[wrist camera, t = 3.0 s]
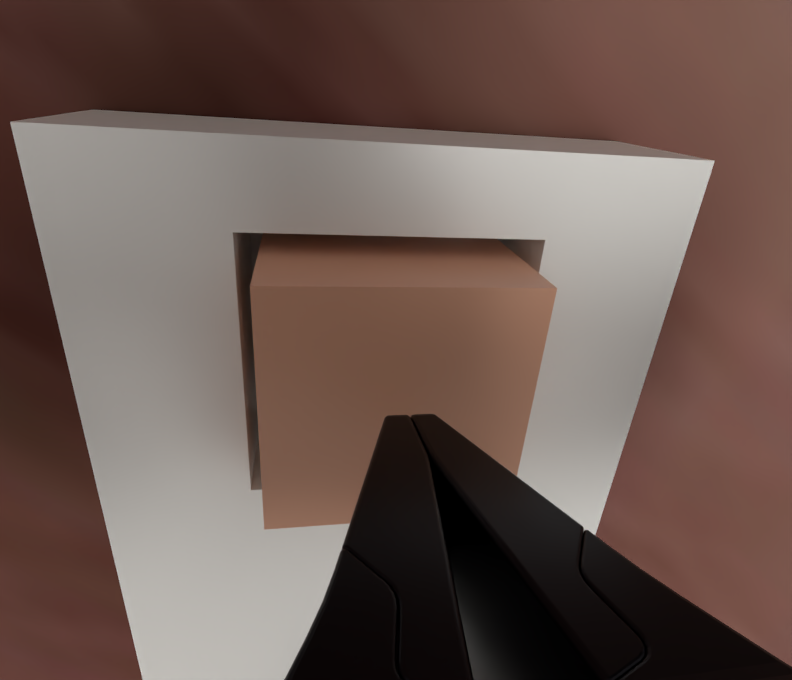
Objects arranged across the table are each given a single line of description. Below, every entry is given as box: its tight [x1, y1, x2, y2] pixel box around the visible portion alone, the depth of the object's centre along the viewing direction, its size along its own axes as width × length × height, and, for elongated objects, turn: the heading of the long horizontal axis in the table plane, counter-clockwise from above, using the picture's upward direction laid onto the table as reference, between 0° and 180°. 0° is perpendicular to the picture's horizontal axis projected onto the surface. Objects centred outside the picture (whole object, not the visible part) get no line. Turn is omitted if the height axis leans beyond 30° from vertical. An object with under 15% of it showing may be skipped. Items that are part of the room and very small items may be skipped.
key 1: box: [250, 233, 557, 530], centre depth 11 cm, size 5×5×3 cm
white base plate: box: [10, 109, 715, 680], centre depth 15 cm, size 22×12×4 cm, turn 176°
